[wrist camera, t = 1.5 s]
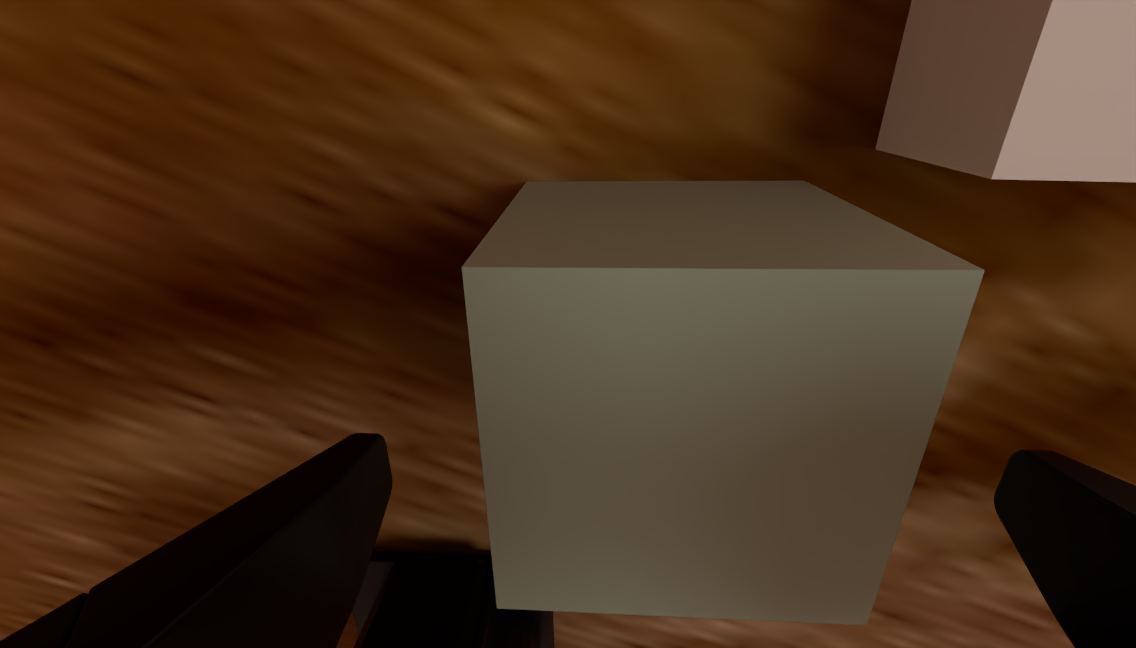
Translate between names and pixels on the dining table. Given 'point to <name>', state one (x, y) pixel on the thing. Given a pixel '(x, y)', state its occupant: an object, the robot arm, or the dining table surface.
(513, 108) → the dining table surface
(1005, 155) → the plinth
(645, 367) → the sage cube
